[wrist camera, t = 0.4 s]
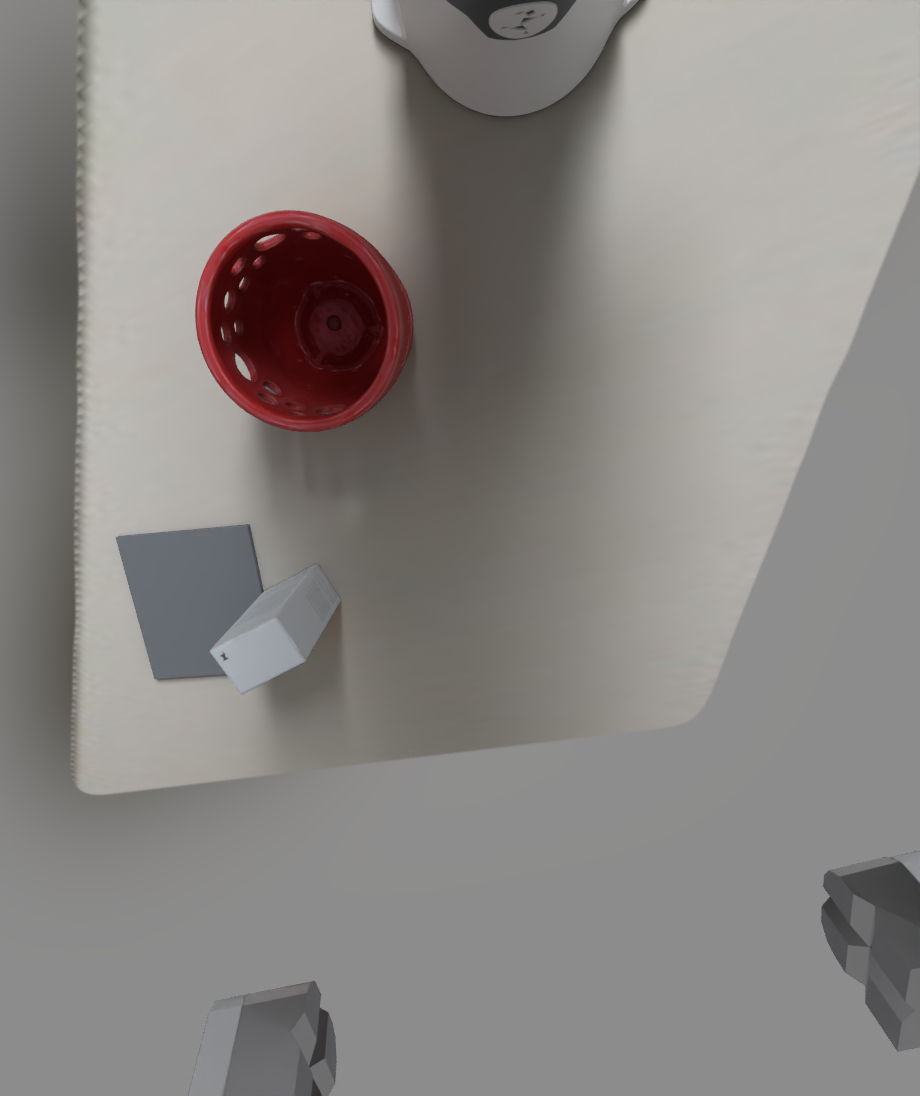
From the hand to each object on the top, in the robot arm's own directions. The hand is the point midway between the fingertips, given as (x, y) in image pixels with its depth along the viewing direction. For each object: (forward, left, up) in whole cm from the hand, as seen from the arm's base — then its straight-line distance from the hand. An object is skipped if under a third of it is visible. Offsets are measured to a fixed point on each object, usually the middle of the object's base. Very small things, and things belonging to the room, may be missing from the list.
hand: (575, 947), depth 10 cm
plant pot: (-12, -13, -45) cm, 48 cm away
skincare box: (+10, -20, -45) cm, 50 cm away
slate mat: (+10, -29, -45) cm, 55 cm away
